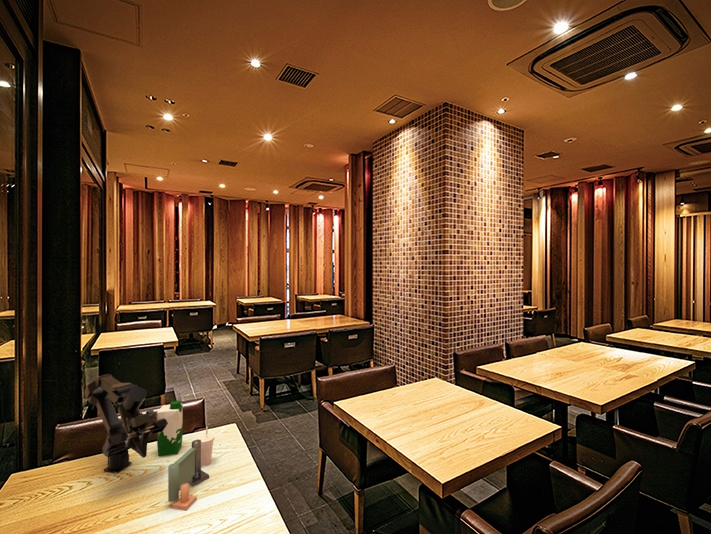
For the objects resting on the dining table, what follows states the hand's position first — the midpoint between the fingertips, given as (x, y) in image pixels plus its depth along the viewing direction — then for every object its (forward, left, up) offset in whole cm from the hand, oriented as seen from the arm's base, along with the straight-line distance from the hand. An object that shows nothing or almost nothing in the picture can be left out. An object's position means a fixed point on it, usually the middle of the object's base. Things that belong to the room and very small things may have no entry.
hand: (144, 456), depth 118 cm
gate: (+15, 0, -9) cm, 17 cm away
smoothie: (+11, +18, -11) cm, 24 cm away
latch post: (+19, -4, -11) cm, 22 cm away
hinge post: (+14, +8, -11) cm, 20 cm away
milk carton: (-9, +23, -11) cm, 27 cm away
